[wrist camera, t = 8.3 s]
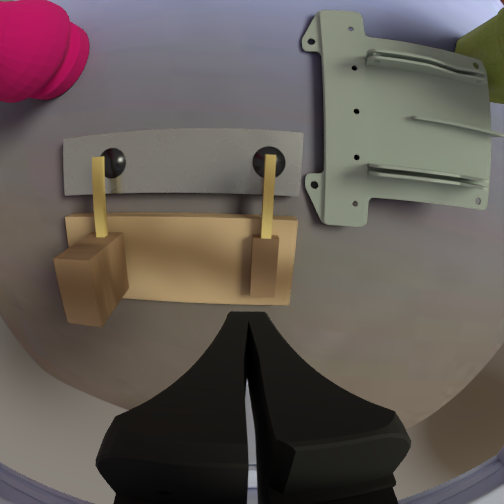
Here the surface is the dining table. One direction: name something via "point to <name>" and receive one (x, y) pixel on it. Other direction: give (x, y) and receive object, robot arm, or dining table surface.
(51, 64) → the pepper mill
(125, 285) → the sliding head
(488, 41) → the plant pot
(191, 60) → the dining table surface
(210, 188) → the bolt strip
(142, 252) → the trammel beam
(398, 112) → the metal bracket
